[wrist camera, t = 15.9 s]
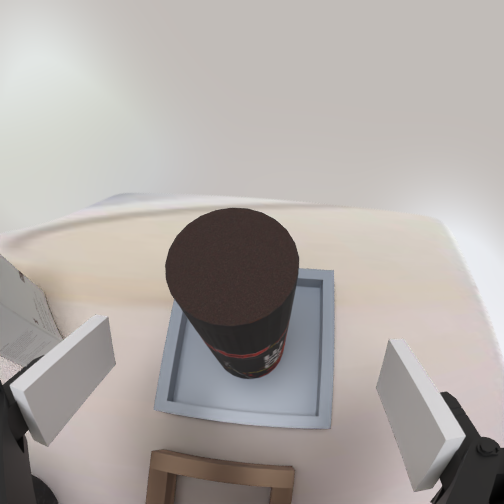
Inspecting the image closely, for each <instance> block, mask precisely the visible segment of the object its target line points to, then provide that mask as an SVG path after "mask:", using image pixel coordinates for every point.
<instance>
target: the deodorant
mask: <svg viewBox="0 0 504 504" xmlns="http://www.w3.org/2000/svg"><path fill="white" fill-rule="evenodd" d="M165 268H166V281H167V284H168V287H169V290H170V292H171V295H172V296H173V298H174V299H175V301H176V302H177V304H178V305H179V307H180V308H181V310H182V311H183V312H184V314H185V315H186V317H187V318H188V320H189V321H190V323H191V324H192V325H193V327H194V328H195V330H196V331H197V333H198V334H199V335H200V337H201V338H202V340H203V341H204V342H205V344H206V345H207V347H208V348H209V349H210V351H211V352H212V353H213V355H214V356H215V357H216V359H217V360H218V361H219V363H220V364H221V365H222V367H223V368H224V369H225V370H226V371H227V372H229V373H230V374H232V375H233V376H236V377H239V378H243V379H255V378H260V377H262V376H265V375H267V374H269V373H270V372H271V371H272V370H273V369H275V367H276V366H277V365H278V363H279V362H280V360H281V357H282V354H283V351H284V346H285V341H286V336H287V331H288V326H289V321H290V316H291V311H292V306H293V301H294V296H295V290H296V285H297V280H298V274H299V256H298V252H297V248H296V245H295V242H294V241H293V239H292V237H291V236H290V234H289V233H288V231H287V230H286V229H285V228H284V227H283V226H282V225H281V224H280V223H279V222H278V221H276V220H275V219H273V218H271V217H269V216H268V215H266V214H264V213H262V212H258V211H254V210H251V209H246V208H227V209H221V210H215V211H213V212H210V213H207V214H205V215H202V216H200V217H199V218H197V219H195V220H194V221H192V222H191V223H189V224H188V225H187V226H186V227H185V228H184V229H183V230H182V231H181V232H180V233H179V234H178V235H177V236H176V238H175V240H174V242H173V243H172V245H171V247H170V249H169V252H168V256H167V260H166V264H165Z"/></svg>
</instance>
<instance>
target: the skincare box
mask: <svg viewBox="0 0 504 504" xmlns="http://www.w3.org/2000/svg"><path fill="white" fill-rule="evenodd" d="M62 341H63V338H62V337H61V335H60V333H59V331H58V329H57V327H56V325H55V322H54V320H53V318H52V315H51V312H50V310H49V307H48V304H47V301H46V298H45V294H44V292H43V291H42V290H41V289H40V288H39V287H38V286H36V285H35V284H34V283H33V282H32V281H30V280H29V279H28V278H27V277H26V276H24V275H23V274H22V273H21V272H20V271H19V270H17V269H16V268H15V267H14V266H13V265H12V264H11V263H9V262H8V261H7V260H6V259H5V258H4V257H3V256H2V255H1V254H0V356H1V357H4V358H6V359H8V360H10V361H12V362H14V363H16V364H19V365H21V366H23V367H25V366H27V364H29V363H30V362H31V361H32V360H33V359H35V358H38V357H40V356H42V355H46V354H47V353H48V352H49V351H51V350H52V349H53V348H54V347H55V346H57V345H58V344H59V343H60V342H62Z"/></svg>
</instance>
